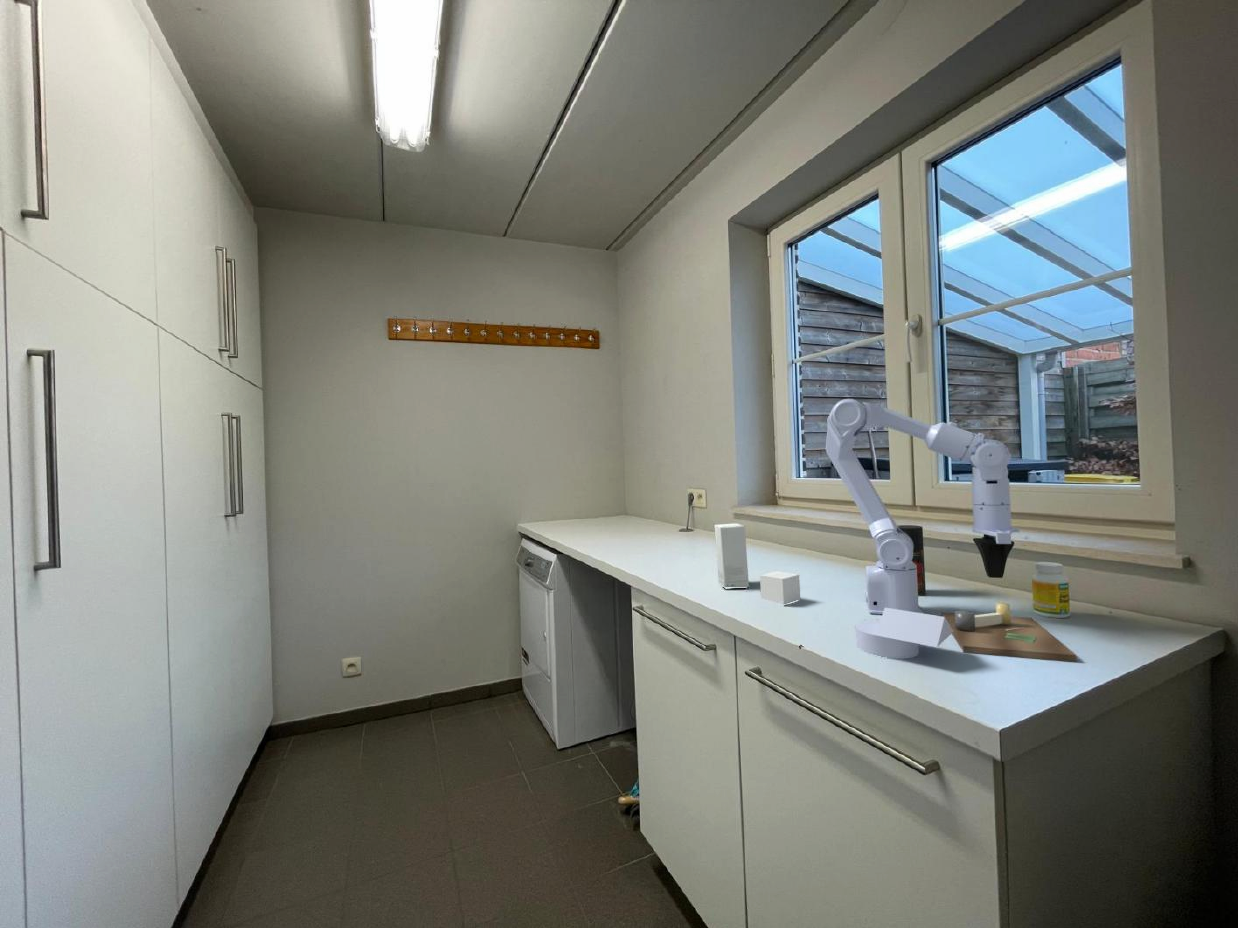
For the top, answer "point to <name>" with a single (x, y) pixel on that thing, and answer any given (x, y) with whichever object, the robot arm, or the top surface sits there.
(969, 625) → the yellow capsule-ended device
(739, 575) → the skincare box
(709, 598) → the top surface
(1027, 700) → the top surface
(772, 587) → the white cube
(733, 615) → the top surface
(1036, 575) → the supplement bottle
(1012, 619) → the dial board
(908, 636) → the wedge on round base
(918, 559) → the deodorant
